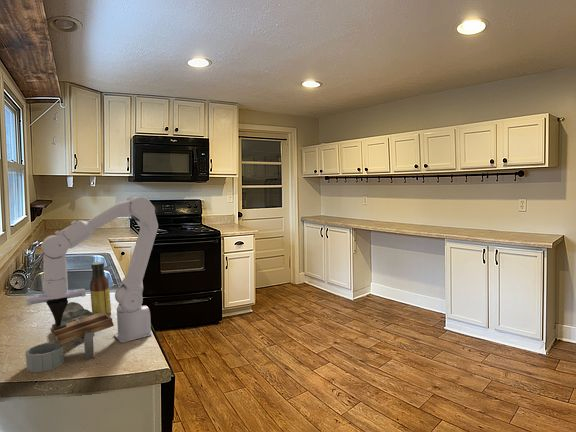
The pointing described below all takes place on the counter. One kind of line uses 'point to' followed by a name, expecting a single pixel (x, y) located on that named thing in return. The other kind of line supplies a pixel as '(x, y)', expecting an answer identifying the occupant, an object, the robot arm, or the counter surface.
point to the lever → (81, 327)
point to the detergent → (74, 312)
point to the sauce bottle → (99, 290)
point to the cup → (44, 357)
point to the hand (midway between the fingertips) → (58, 325)
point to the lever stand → (86, 344)
